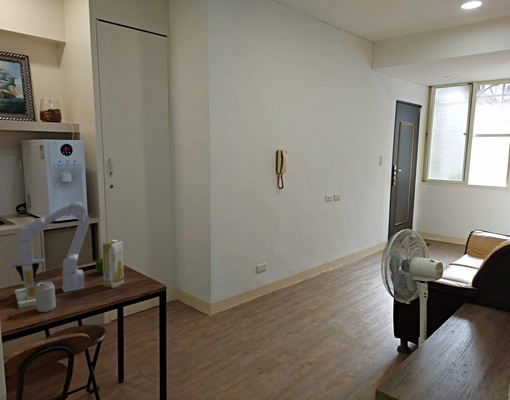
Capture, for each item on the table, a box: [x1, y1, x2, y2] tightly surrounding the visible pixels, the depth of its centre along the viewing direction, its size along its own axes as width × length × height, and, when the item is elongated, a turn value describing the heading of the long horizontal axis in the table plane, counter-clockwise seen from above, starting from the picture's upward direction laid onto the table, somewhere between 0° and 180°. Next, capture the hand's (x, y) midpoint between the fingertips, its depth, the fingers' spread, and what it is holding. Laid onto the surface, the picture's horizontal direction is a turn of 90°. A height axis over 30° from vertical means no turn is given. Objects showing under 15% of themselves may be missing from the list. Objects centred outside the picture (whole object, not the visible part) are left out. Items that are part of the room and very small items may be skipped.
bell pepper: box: [95, 257, 103, 275], centre depth 213 cm, size 8×8×10 cm
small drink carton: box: [22, 266, 35, 287], centre depth 180 cm, size 4×4×8 cm
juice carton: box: [101, 239, 125, 289], centre depth 194 cm, size 9×8×24 cm
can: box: [35, 280, 57, 313], centre depth 165 cm, size 8×8×12 cm
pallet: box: [14, 285, 37, 309], centre depth 177 cm, size 11×20×2 cm, turn 37°
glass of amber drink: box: [24, 282, 37, 300], centre depth 173 cm, size 4×4×8 cm
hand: (28, 279), depth 180 cm, fingers closed on small drink carton, 4 cm apart
